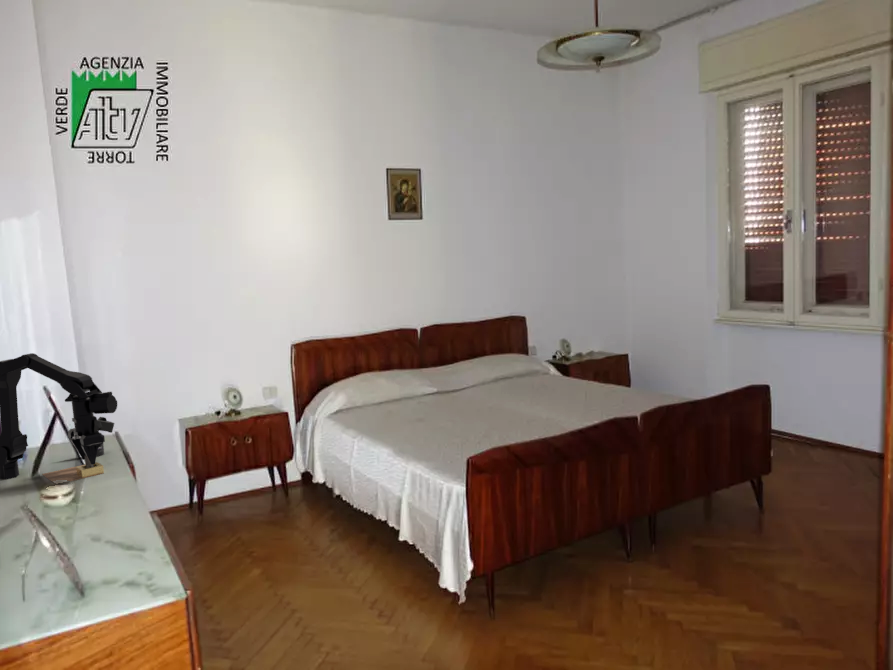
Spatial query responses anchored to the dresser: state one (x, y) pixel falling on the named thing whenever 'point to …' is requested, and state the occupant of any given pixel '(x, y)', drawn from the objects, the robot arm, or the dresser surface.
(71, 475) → the keeper board
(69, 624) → the dresser surface
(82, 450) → the robot arm
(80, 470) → the wooden square frame
